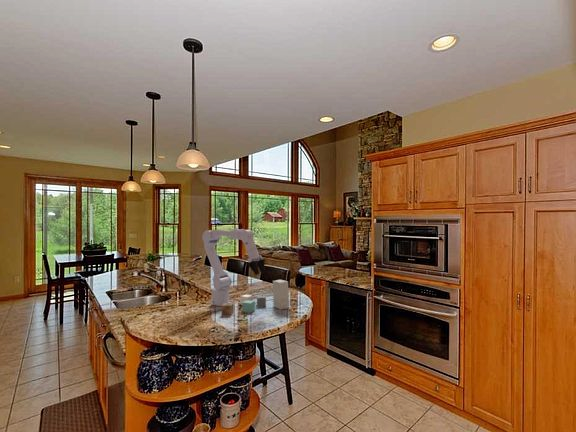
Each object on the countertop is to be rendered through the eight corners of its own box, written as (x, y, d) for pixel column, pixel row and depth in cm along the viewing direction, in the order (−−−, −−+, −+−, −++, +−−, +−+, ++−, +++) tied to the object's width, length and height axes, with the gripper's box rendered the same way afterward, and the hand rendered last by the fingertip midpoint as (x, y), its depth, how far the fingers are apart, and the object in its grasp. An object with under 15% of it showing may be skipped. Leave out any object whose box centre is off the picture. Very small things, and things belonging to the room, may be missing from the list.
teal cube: (242, 311, 159) (242, 302, 159) (246, 309, 164) (246, 300, 164) (250, 312, 158) (250, 303, 158) (254, 310, 162) (254, 300, 162)
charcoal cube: (256, 306, 169) (256, 297, 169) (257, 304, 174) (257, 295, 174) (265, 306, 169) (265, 297, 169) (265, 304, 174) (265, 295, 174)
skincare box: (289, 308, 166) (289, 281, 166) (280, 310, 162) (280, 282, 162) (281, 304, 173) (281, 278, 173) (272, 306, 169) (272, 280, 169)
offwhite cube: (240, 304, 173) (240, 296, 173) (245, 302, 177) (245, 294, 177) (247, 306, 170) (247, 297, 170) (252, 304, 174) (252, 295, 175)
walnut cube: (221, 315, 154) (221, 305, 154) (224, 312, 159) (224, 302, 159) (231, 315, 153) (231, 305, 153) (233, 312, 158) (233, 302, 158)
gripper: (252, 247, 156) (260, 272, 153) (263, 247, 170) (272, 269, 167) (240, 252, 158) (249, 277, 155) (253, 252, 172) (261, 274, 169)
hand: (260, 273), depth 161 cm, fingers open, 7 cm apart
